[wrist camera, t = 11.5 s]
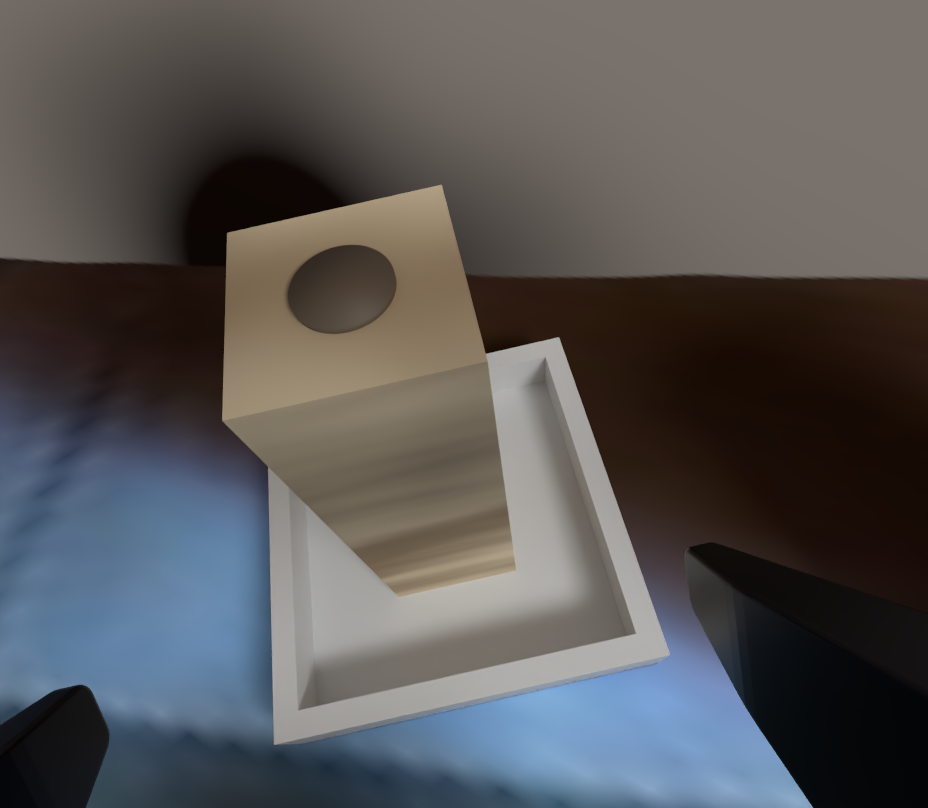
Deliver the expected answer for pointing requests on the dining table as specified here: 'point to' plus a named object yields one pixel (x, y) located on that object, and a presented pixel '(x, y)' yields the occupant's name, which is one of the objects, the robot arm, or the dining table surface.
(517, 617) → the tray
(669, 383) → the dining table surface
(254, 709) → the dining table surface
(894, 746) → the robot arm
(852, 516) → the dining table surface
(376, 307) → the maple block
